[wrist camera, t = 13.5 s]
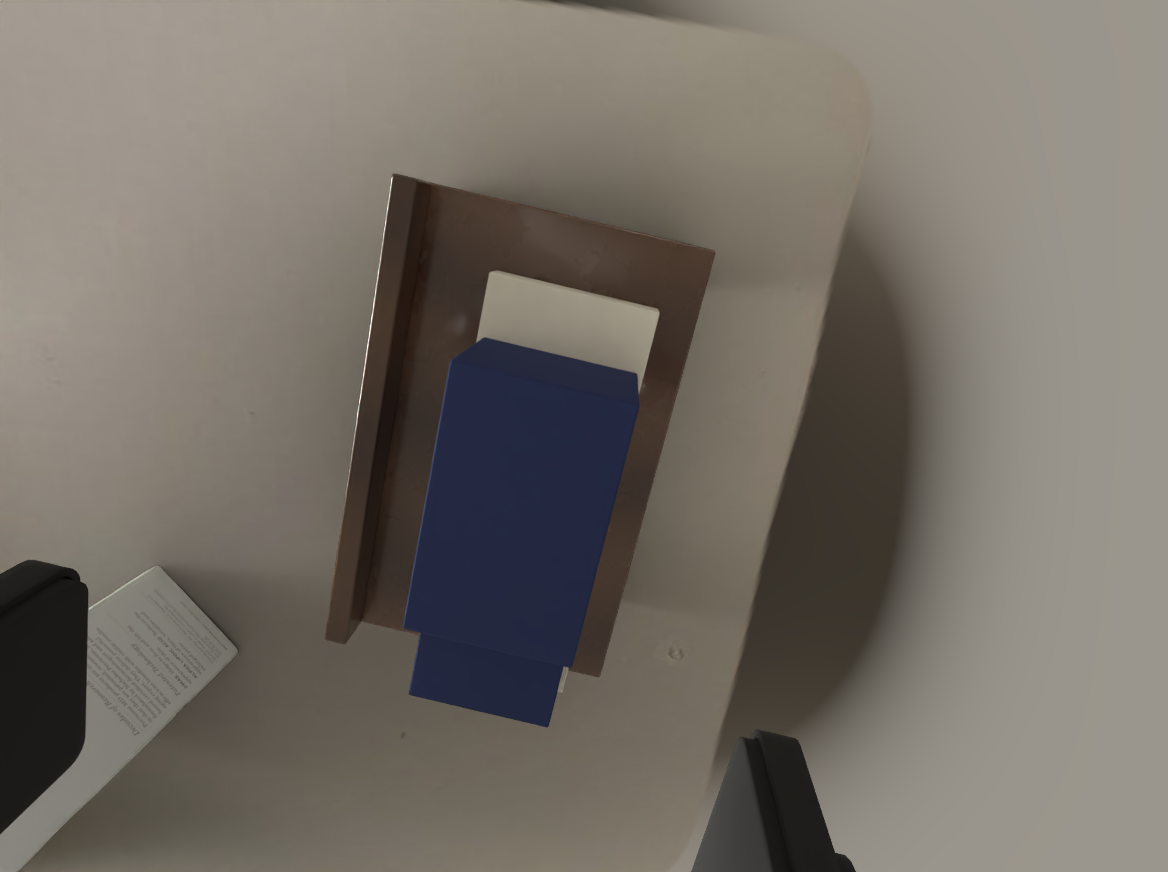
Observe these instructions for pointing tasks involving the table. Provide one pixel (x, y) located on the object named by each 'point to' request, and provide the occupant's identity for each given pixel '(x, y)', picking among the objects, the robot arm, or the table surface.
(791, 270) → the table surface
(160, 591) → the cosmetic box
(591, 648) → the shelf
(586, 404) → the navy stepped block
